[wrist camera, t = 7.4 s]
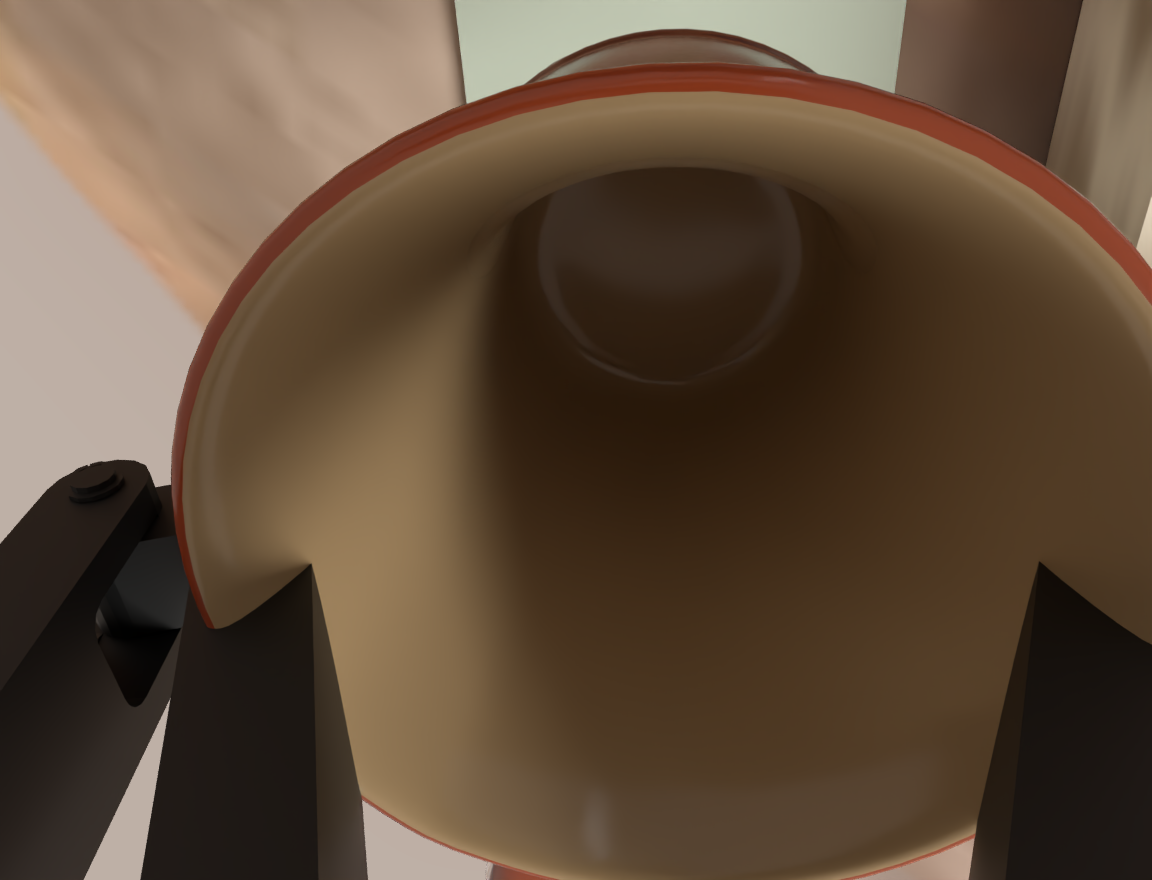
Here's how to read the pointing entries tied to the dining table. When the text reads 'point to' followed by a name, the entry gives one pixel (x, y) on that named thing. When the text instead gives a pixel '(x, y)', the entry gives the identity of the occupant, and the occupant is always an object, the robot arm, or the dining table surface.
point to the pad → (642, 3)
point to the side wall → (1110, 116)
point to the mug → (677, 459)
